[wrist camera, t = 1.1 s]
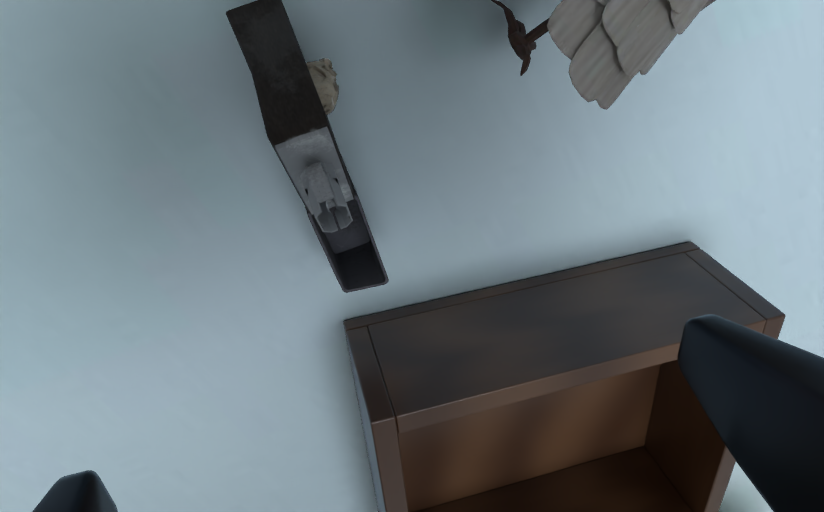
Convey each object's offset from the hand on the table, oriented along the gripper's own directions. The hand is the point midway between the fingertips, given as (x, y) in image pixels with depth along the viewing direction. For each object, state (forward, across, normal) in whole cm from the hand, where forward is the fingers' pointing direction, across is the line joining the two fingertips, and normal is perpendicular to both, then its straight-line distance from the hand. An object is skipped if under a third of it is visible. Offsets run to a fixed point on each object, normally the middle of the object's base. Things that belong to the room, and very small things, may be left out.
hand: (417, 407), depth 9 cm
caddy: (+11, -7, +13) cm, 19 cm away
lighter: (+12, 0, 0) cm, 12 cm away
